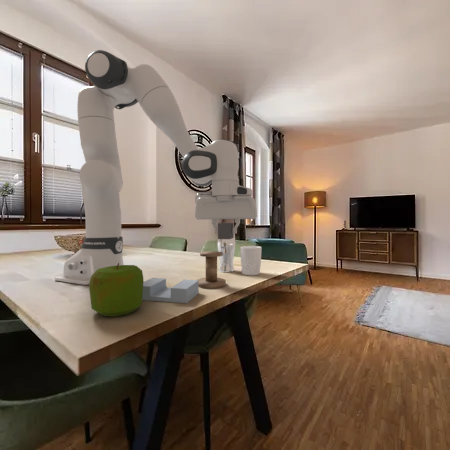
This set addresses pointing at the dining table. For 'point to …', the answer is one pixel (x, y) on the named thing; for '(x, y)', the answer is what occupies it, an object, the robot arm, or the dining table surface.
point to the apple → (116, 290)
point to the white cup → (250, 260)
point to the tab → (225, 231)
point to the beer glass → (226, 254)
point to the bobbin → (211, 271)
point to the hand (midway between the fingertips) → (226, 233)
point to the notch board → (169, 290)
